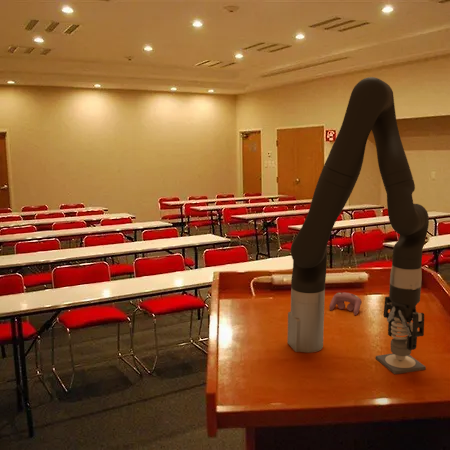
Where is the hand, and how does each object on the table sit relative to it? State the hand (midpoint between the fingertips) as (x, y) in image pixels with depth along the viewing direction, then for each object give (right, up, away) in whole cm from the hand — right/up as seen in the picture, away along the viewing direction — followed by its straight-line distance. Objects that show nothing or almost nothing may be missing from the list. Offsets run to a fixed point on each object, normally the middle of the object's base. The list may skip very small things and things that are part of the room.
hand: (401, 342), depth 139 cm
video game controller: (-6, +2, +39) cm, 39 cm away
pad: (0, -6, +1) cm, 6 cm away
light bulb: (0, -5, +1) cm, 5 cm away
